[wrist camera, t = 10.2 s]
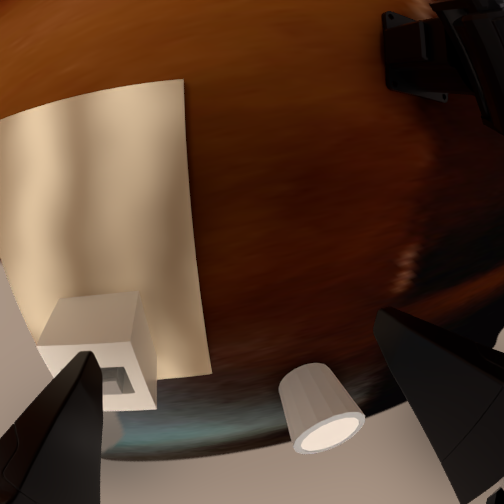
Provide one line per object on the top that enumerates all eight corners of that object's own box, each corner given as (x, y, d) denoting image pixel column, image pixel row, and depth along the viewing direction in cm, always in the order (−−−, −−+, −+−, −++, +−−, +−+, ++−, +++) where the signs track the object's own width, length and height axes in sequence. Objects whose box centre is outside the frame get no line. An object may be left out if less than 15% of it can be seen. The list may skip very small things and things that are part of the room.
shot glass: (304, 407, 30) (326, 456, 24) (258, 394, 28) (277, 452, 21) (348, 368, 29) (379, 416, 23) (305, 349, 26) (336, 407, 20)
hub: (139, 290, 19) (130, 343, 14) (157, 357, 21) (156, 411, 17) (59, 298, 17) (34, 348, 13) (86, 361, 20) (74, 412, 15)
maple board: (183, 82, 15) (183, 79, 14) (209, 361, 24) (212, 373, 23) (-13, 128, 13) (-25, 130, 11) (60, 370, 22) (57, 382, 20)
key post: (125, 322, 19) (116, 381, 14) (129, 335, 20) (122, 394, 15) (87, 325, 19) (70, 381, 14) (92, 338, 19) (78, 394, 14)
